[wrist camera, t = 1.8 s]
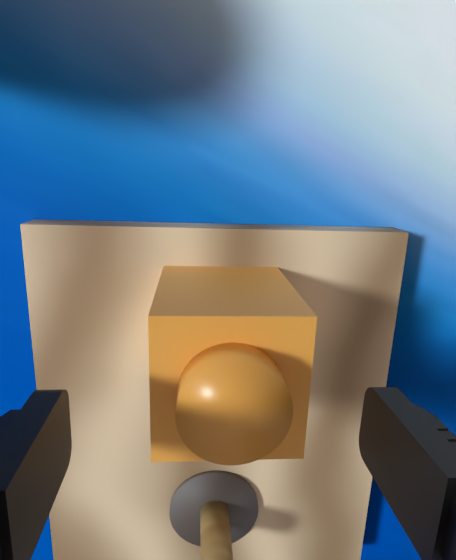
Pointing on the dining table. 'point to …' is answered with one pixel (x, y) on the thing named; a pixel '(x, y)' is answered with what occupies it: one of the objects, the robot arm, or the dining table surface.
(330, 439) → the board
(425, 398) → the dining table surface
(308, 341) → the cube with dome
